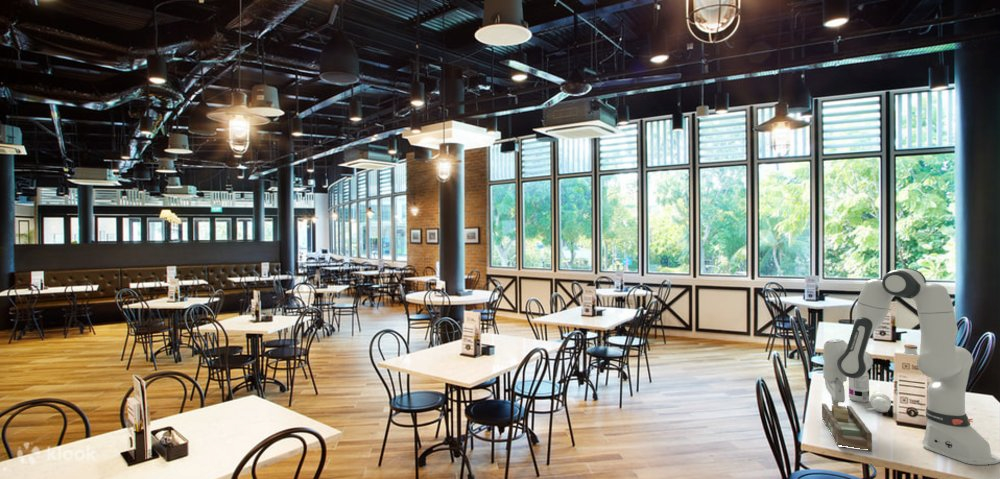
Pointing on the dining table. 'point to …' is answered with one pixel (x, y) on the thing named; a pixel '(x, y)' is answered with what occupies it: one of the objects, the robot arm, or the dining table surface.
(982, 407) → the dining table surface
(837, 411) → the maple block
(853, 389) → the supplement can
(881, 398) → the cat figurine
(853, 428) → the brown long open box
